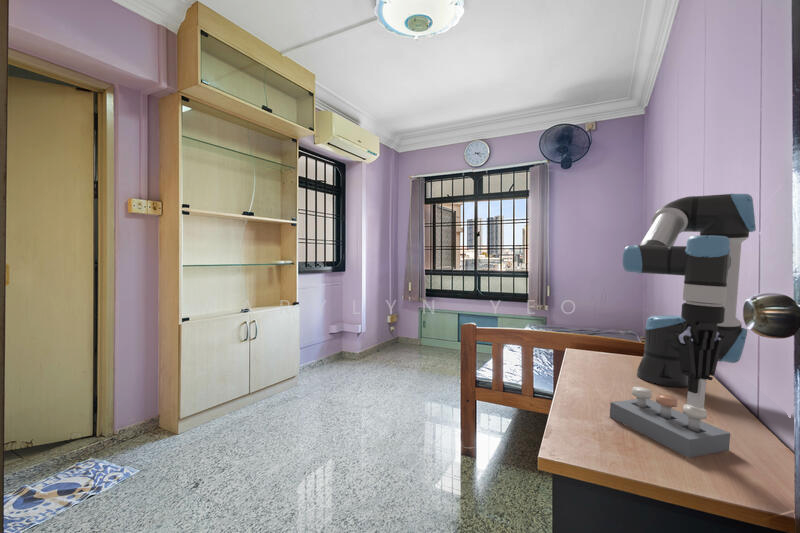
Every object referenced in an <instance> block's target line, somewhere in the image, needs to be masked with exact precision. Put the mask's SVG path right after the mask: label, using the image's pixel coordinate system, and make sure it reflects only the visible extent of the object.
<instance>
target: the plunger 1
mask: <svg viewBox="0 0 800 533" xmlns="http://www.w3.org/2000/svg"><path fill="white" fill-rule="evenodd" d="M631 392H632V393H631V394H632V395H633V396H634V397H636V406H637V407H640V408H642V409H643V408H646V399H650V400H652V394H653V393H652V392H653V391H652V390H651V389H649V388H646V387H642V386H633V387H632V391H631Z"/></svg>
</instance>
